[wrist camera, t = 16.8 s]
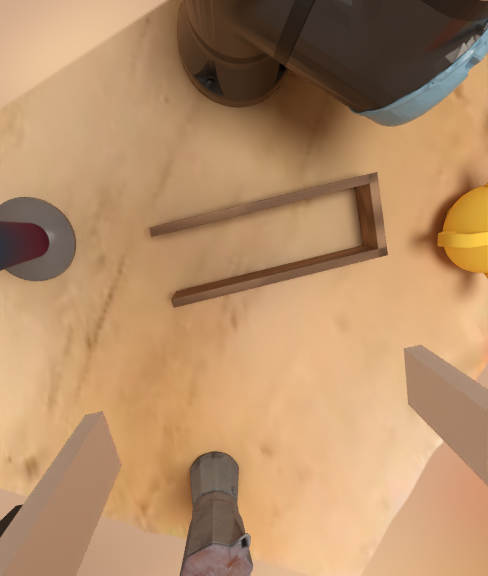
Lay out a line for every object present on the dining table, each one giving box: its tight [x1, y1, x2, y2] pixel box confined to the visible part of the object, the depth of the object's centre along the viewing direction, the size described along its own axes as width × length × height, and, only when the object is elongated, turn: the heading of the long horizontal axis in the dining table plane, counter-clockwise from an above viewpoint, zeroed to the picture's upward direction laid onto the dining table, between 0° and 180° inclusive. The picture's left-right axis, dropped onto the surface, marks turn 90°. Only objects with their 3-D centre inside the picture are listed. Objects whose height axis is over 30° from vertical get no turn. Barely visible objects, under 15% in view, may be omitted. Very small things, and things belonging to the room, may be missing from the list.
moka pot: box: [180, 452, 253, 576], centre depth 47 cm, size 10×15×20 cm, turn 144°
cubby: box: [149, 172, 388, 308], centre depth 46 cm, size 11×31×5 cm, turn 103°
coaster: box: [0, 197, 76, 281], centre depth 46 cm, size 12×12×1 cm
